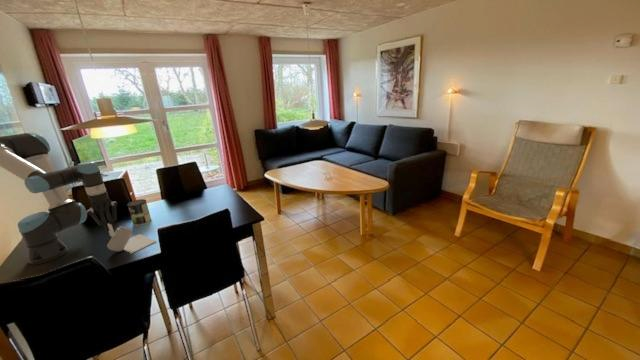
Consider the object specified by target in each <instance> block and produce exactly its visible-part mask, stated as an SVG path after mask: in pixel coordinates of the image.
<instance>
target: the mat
mask: <svg viewBox="0 0 640 360" xmlns="http://www.w3.org/2000/svg"><path fill="white" fill-rule="evenodd" d="M155 243H157V240H155V239H152V238H150V237H148V236H146V235H144V234H141V233H138V234H137V235H134V236H132V237H130V238H129V240H128V242H127V244H126V246H125V248H124V249H123V250H122V251H124V252H127V253H128V252H129V254H130V255H132V253H133V254H135V253H137V252H139V251H141V250H142V249H145V248H147V247H149V246H151V245H153V244H155ZM134 252H135V253H134Z"/></svg>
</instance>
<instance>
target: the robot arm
mask: <svg viewBox="0 0 640 360" xmlns="http://www.w3.org/2000/svg"><path fill="white" fill-rule="evenodd" d="M44 137H45V136H43V135H41V134H40V133H38V132H28V133H27V132H24V133H17V134H10V135H3V136H1V135H0V167H1V168H2V169H4V170H6V171H7V172H9V173H11V174H12V175H14V176H16V177H18V178H20V179H22V180H23V181H24V185H25V187H26V189H27V190H28V191H29V192H30V193H32V194H39V193H41V194H42V195H43V196H44V198H45V199H46V201H47V203H48V205H49V206H48V209H47V210H48V212H47V211H39V212H36V213H32V214H29V215H27V216H25V217H23V218H21V219H20V220H18V223H17V228H18V232H19V233H20V235H21V236H22V239H23V242H24V243H25V246H26V248H27V261H28V263H29V264H30V265H32V266H33V265H34V266H37V265H42V264H46V263H49V262H52V261H54V260H57V259H59V258H61V257H63V256H64V255H65V254H66V253H68V250H69V249H68V247H67V245H66V244H65V243H64V242H63V241H62V240H60V239H59V237H58V233H61V232H64V231H66V230H68V229H70V228H71V229H72V228H74V227H76V226H79V225H81V224H83V223H84V222H86V220H87V218H88V214H89V216H91V218H92V219H93V220H94V222H95V223H96V224H97V225H98V226H100V227H103V228H104V231H105V232H108V235H109V236H110V237H111V238H112V237H113V236H115V230H116V226H115V222H117V220H118V214H117V213H118V211H117V206H118V204H119V203H118V202H117V201H112V200H111V198H110V197H109V194H108V191H107V188H106V186H105V183H104V180H103V176H102V173H101V171H100V167H99V166H98V163H97V162H96V161H85V162H81V163H78V164H77V165H71V166H66V167H65V168H62V169H59V170H58V169H57V170H54V168H53V166H52V165H51V163H50V162H49V160H48V158H49V156H50V154H49V153H50V152H51V147H50V144H49V142H48V140H47V139H46V138H44ZM80 182H81V183H82V184H83V187H84V190H85V192H86V194H87V198H88V201H89V203H90V206H89V207H90V208H89V209H87V210H86V207H85V205H83V204H82V203H81V202H76V200H75V199H71V198H70V197H69V194H68V192H67V191H66V190H65V188H64V186H68V185H71V184H75V183H80ZM110 207H111V211H110ZM94 211H95V212H97V214H98V215H99V218H100V219H99V218H98V216H97V215H96V213H95V212H94ZM114 229H115V230H114Z"/></svg>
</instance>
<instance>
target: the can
mask: <svg viewBox="0 0 640 360" xmlns="http://www.w3.org/2000/svg"><path fill="white" fill-rule="evenodd" d="M132 231H133V229H131V228H129V227H127V226H122V225H120V226H119V227H117V228H115V230H114V233H115V236H113V237H111V238H110V240H109V241H108V243H107V245H106V247H107V249H109V250H110V251H113V252H122V251H124V250H123V249H124V248H125V246H126V244H127V242H128V240H129V238H131V236H132V235H133V232H132Z"/></svg>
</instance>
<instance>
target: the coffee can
mask: <svg viewBox="0 0 640 360" xmlns="http://www.w3.org/2000/svg"><path fill="white" fill-rule="evenodd" d="M126 206H127V208H128V212H129V214H130V217H131V220H132V224H133V226H143V225H147V224H149V223H150V222H152V218H151V214H150V210H149V206H148V204H147V200H146V199H144V198H139V199H134V200H132V201H129V202H128V203H127V205H126Z"/></svg>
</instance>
